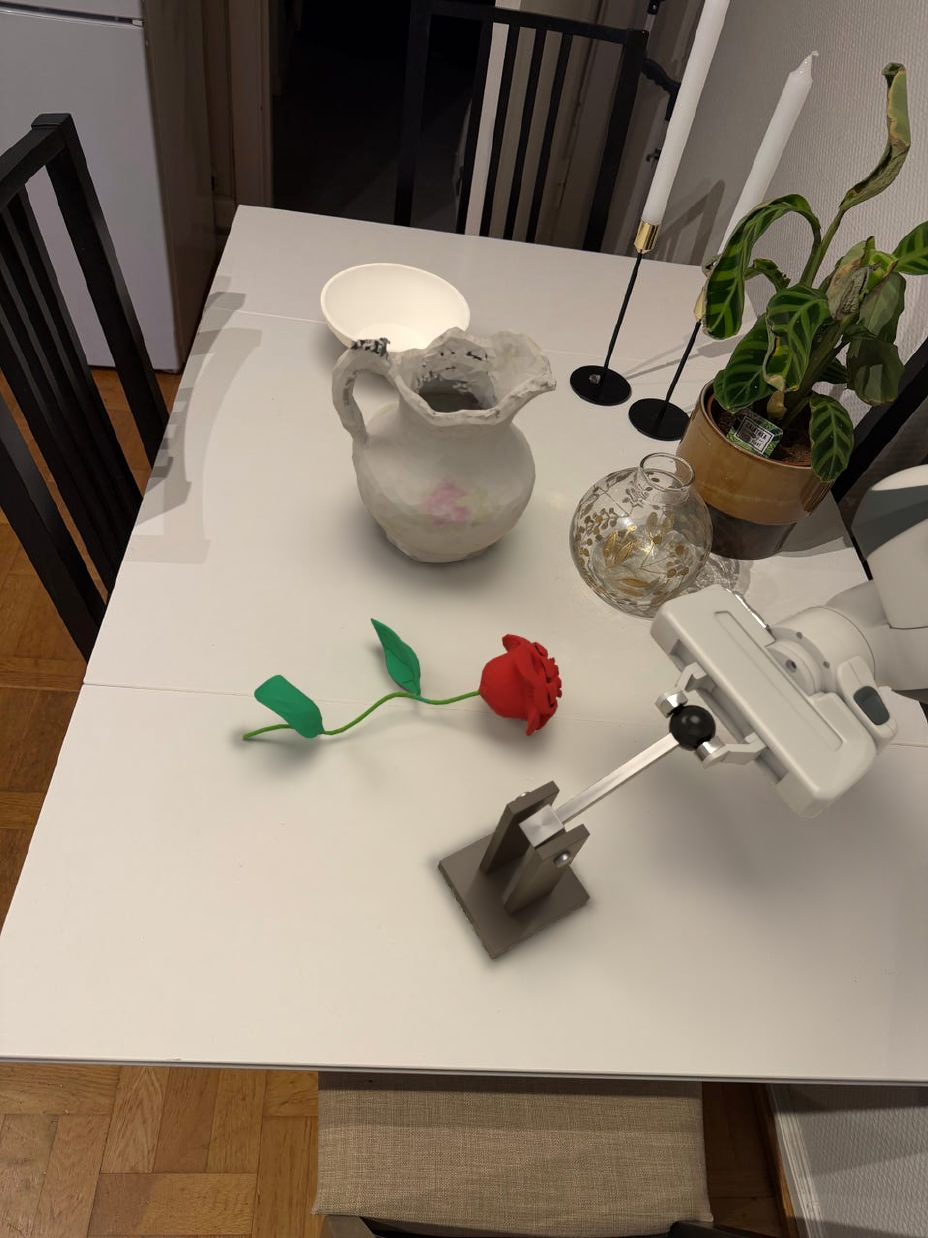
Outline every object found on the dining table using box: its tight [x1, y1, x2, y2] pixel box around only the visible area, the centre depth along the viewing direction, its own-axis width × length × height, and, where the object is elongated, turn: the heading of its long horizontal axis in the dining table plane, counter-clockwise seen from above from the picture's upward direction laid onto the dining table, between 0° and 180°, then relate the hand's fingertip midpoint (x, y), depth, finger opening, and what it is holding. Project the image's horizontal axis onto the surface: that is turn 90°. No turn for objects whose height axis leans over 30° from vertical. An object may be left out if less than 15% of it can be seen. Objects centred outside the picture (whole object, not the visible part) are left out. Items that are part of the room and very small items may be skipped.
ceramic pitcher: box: [331, 327, 557, 563], centre depth 90 cm, size 22×20×25 cm
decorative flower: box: [242, 617, 563, 740], centre depth 82 cm, size 14×30×10 cm, turn 96°
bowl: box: [319, 262, 471, 359], centre depth 116 cm, size 20×20×7 cm
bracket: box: [437, 780, 591, 960], centre depth 71 cm, size 10×9×14 cm
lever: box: [519, 704, 717, 850], centre depth 67 cm, size 17×4×4 cm, turn 121°
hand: (681, 732), depth 67 cm, fingers closed on lever, 3 cm apart
